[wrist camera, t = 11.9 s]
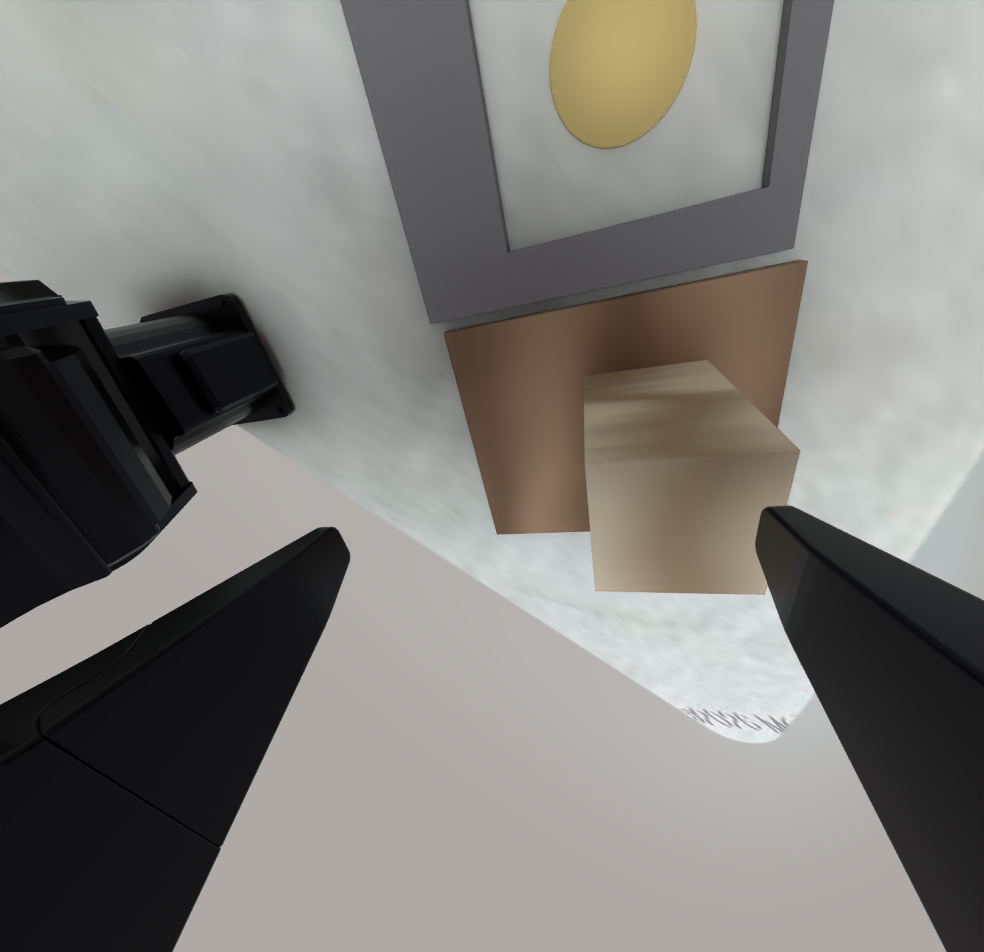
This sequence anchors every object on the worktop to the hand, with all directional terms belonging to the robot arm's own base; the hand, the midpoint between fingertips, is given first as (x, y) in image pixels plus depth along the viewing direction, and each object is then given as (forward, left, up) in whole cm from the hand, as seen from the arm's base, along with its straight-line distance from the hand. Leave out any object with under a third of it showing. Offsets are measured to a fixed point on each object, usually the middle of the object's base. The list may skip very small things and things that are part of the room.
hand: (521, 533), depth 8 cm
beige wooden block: (+4, -3, -11) cm, 12 cm away
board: (+2, -3, -12) cm, 12 cm away
